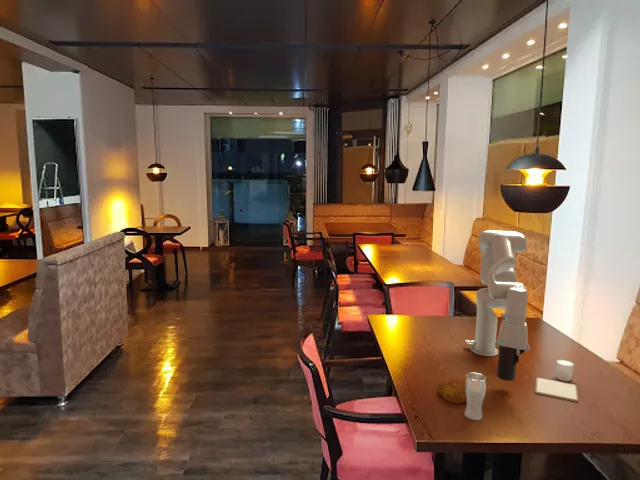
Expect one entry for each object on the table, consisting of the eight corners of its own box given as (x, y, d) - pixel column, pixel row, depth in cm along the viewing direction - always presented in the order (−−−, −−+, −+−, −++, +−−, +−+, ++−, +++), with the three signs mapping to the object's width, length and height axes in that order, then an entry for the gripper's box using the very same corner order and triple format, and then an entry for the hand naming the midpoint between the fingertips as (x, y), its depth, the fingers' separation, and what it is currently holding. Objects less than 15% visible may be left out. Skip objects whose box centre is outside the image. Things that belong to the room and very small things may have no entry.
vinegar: (502, 381, 185) (507, 333, 182) (493, 373, 192) (497, 327, 188) (518, 380, 187) (523, 332, 183) (508, 372, 193) (513, 326, 190)
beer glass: (460, 411, 172) (462, 372, 170) (478, 410, 173) (481, 372, 170) (467, 421, 165) (470, 380, 163) (486, 420, 166) (490, 380, 164)
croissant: (483, 403, 183) (487, 383, 182) (456, 408, 174) (460, 387, 174) (455, 387, 195) (458, 369, 194) (428, 391, 186) (432, 372, 186)
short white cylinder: (571, 376, 204) (572, 360, 203) (573, 382, 197) (575, 367, 196) (553, 373, 206) (555, 358, 205) (555, 380, 200) (557, 364, 198)
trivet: (534, 393, 187) (535, 391, 187) (535, 378, 200) (536, 376, 200) (578, 402, 180) (578, 400, 180) (576, 386, 194) (576, 384, 194)
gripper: (491, 318, 184) (487, 362, 187) (537, 325, 177) (532, 371, 180) (493, 312, 190) (490, 355, 194) (538, 319, 183) (533, 363, 187)
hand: (510, 362), depth 187 cm, fingers closed on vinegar, 2 cm apart
